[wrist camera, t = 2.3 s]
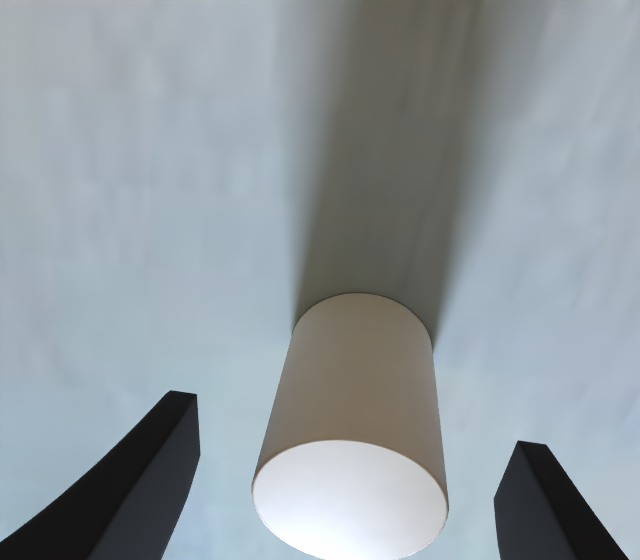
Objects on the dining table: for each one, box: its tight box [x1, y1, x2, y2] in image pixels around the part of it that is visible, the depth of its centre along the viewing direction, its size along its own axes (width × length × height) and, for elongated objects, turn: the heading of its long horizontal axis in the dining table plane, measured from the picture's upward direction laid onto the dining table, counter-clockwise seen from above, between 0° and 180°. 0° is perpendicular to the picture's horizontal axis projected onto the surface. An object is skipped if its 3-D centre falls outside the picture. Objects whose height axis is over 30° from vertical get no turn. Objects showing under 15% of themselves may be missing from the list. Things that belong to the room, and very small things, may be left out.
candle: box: [251, 293, 449, 560], centre depth 13 cm, size 4×4×5 cm
